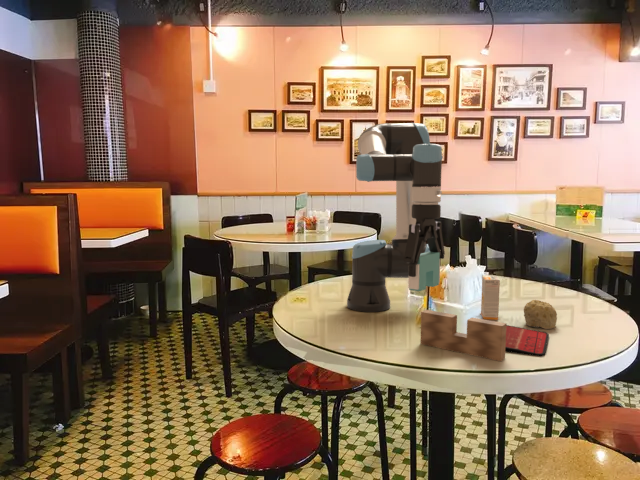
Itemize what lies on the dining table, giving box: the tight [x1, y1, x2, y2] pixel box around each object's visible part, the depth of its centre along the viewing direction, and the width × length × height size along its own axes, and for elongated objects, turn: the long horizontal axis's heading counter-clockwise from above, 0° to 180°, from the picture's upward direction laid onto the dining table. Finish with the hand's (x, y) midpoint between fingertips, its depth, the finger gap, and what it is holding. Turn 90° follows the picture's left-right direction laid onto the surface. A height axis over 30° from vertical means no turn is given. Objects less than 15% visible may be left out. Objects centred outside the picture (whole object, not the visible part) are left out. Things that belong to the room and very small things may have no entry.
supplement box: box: [480, 274, 501, 321], centre depth 167 cm, size 8×5×13 cm, turn 168°
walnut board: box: [420, 309, 508, 362], centre depth 135 cm, size 22×3×9 cm, turn 52°
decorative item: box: [523, 299, 558, 330], centre depth 158 cm, size 10×10×10 cm
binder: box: [505, 324, 550, 357], centre depth 143 cm, size 16×2×21 cm
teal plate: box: [408, 252, 441, 292], centre depth 137 cm, size 11×3×9 cm, turn 141°
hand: (424, 285), depth 138 cm, fingers closed on teal plate, 11 cm apart
